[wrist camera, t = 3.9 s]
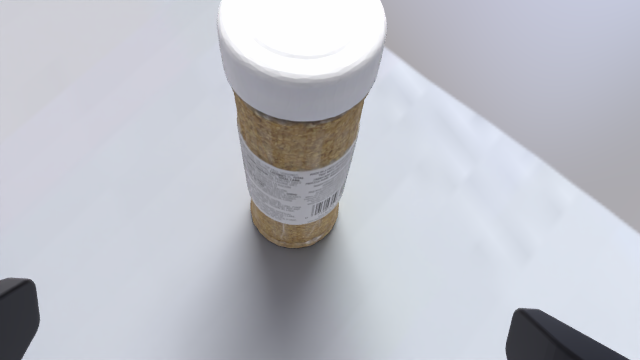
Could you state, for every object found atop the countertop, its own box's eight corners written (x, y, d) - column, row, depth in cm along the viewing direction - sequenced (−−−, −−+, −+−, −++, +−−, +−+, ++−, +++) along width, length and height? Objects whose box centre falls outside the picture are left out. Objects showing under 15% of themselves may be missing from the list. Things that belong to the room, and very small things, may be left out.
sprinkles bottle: (307, 156, 26) (327, -70, 14) (355, 222, 24) (425, 34, 12) (233, 196, 24) (183, -16, 12) (278, 269, 23) (272, 109, 11)
